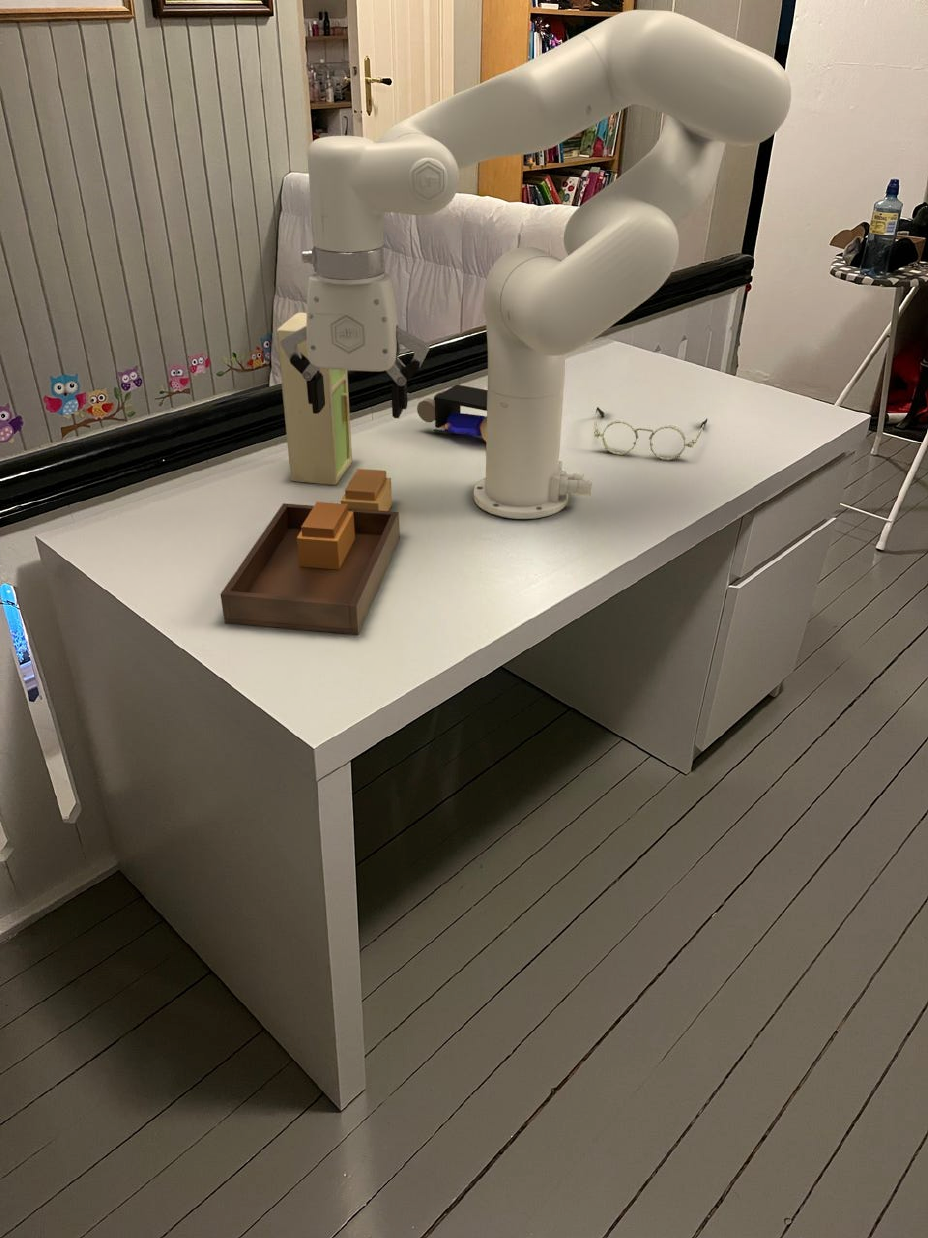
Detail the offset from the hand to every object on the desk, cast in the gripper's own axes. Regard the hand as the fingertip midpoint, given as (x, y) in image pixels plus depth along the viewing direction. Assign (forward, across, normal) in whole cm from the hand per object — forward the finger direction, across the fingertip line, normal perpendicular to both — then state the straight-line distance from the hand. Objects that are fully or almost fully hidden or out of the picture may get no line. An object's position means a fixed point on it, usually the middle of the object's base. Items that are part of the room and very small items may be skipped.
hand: (358, 411), depth 113 cm
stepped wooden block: (+14, 0, +1) cm, 14 cm away
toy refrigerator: (+14, -9, +13) cm, 21 cm away
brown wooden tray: (+14, -2, -15) cm, 21 cm away
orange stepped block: (+14, -2, -10) cm, 17 cm away
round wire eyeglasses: (+14, +37, +32) cm, 51 cm away
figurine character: (+14, +10, +29) cm, 34 cm away
